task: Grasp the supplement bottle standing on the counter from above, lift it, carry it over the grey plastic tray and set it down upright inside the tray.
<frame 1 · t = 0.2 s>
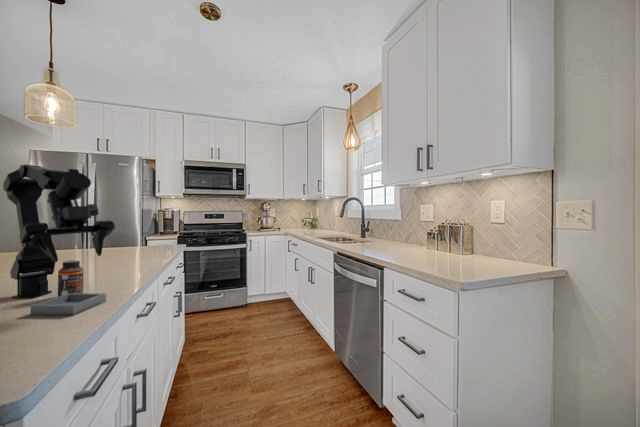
hand: (79, 258, 73), 15 cm above the table, tool tilted 30°, fingers open, 9 cm apart
supplement bottle: (70, 297, 86), on the table
tray: (71, 308, 76), on the table
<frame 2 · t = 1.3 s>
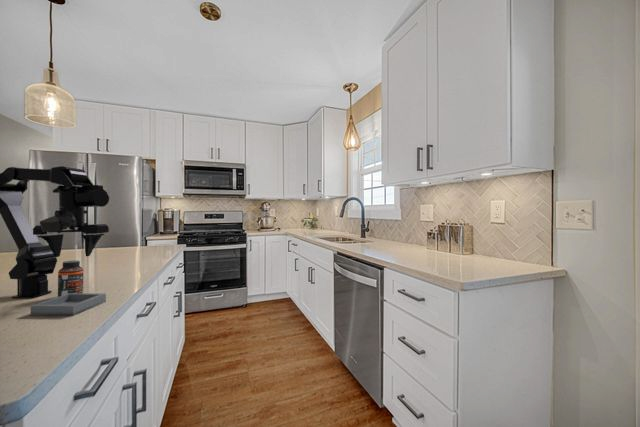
hand: (72, 256, 85), 13 cm above the table, tool pointing down, fingers open, 9 cm apart
nothing on the table moved.
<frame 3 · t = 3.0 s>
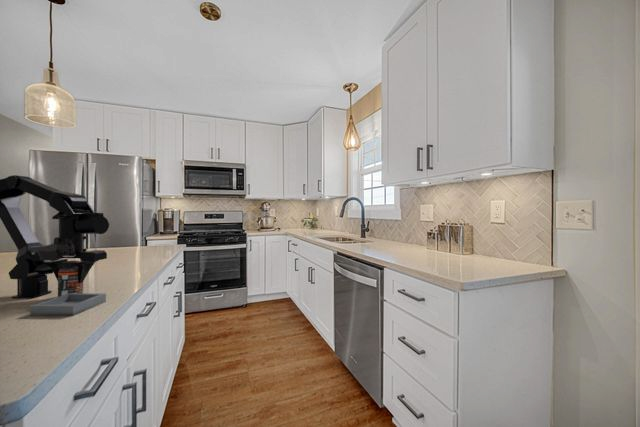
hand: (70, 282, 86), 5 cm above the table, tool pointing down, fingers closed on supplement bottle, 6 cm apart
supplement bottle: (70, 297, 86), on the table, touching gripper
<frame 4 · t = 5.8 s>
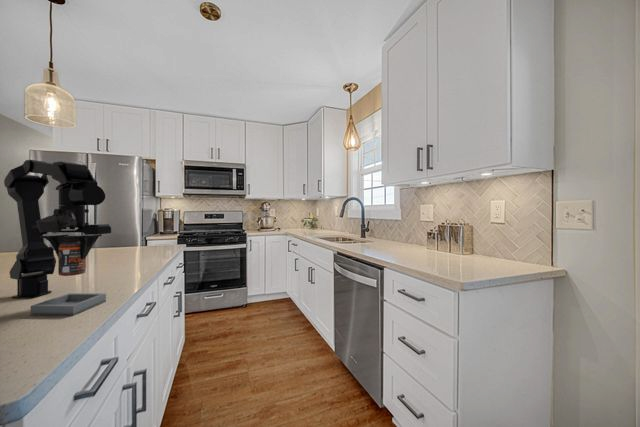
hand: (72, 258, 79), 13 cm above the table, tool pointing down, fingers closed on supplement bottle, 6 cm apart
supplement bottle: (72, 274, 79), point 9 cm above the table, touching gripper
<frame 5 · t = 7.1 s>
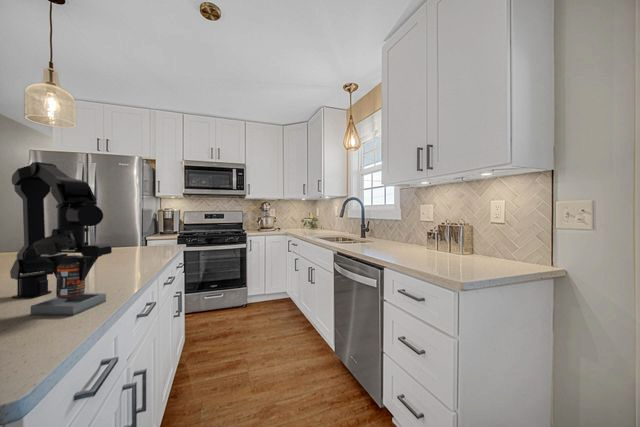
hand: (71, 280, 76), 8 cm above the table, tool pointing down, fingers closed on supplement bottle, 6 cm apart
supplement bottle: (70, 296, 76), point 3 cm above the table, touching gripper
when the fingers open (7 cm above the table, at t = 8.2 s): supplement bottle drops 1 cm, resting on tray.
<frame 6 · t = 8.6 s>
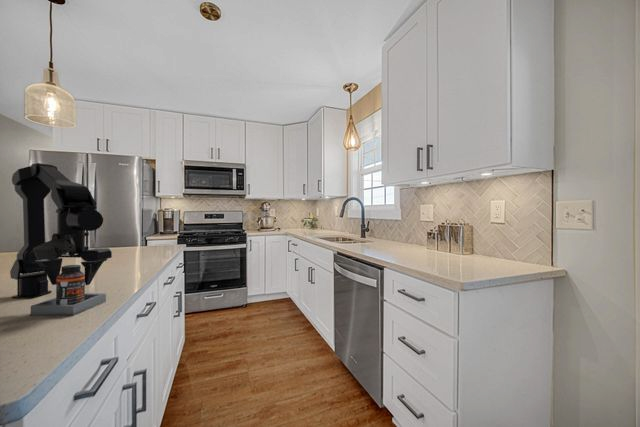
hand: (71, 284, 76), 7 cm above the table, tool pointing down, fingers open, 9 cm apart
supplement bottle: (70, 306, 76), resting on tray
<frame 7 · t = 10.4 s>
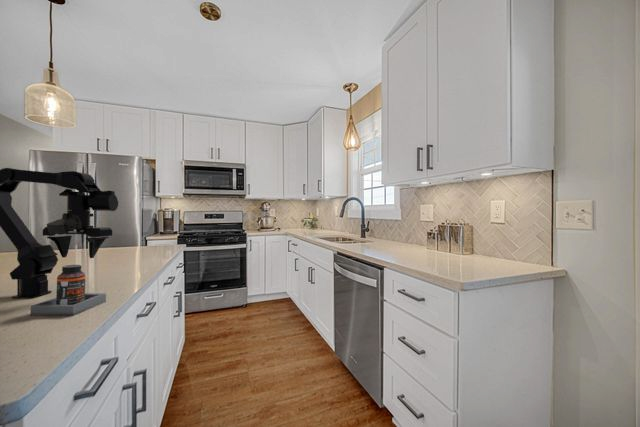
hand: (77, 257, 89), 12 cm above the table, tool pointing down, fingers open, 9 cm apart
nothing on the table moved.
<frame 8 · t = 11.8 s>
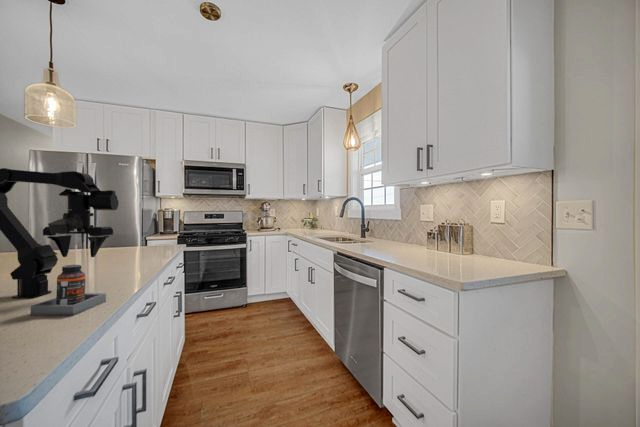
hand: (78, 256, 90), 12 cm above the table, tool pointing down, fingers open, 9 cm apart
nothing on the table moved.
at the end: supplement bottle 0.1 cm off-centre on the tray, point 0.4 cm above the tray's base; supplement bottle tilted 0°; the gripper is holding nothing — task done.
